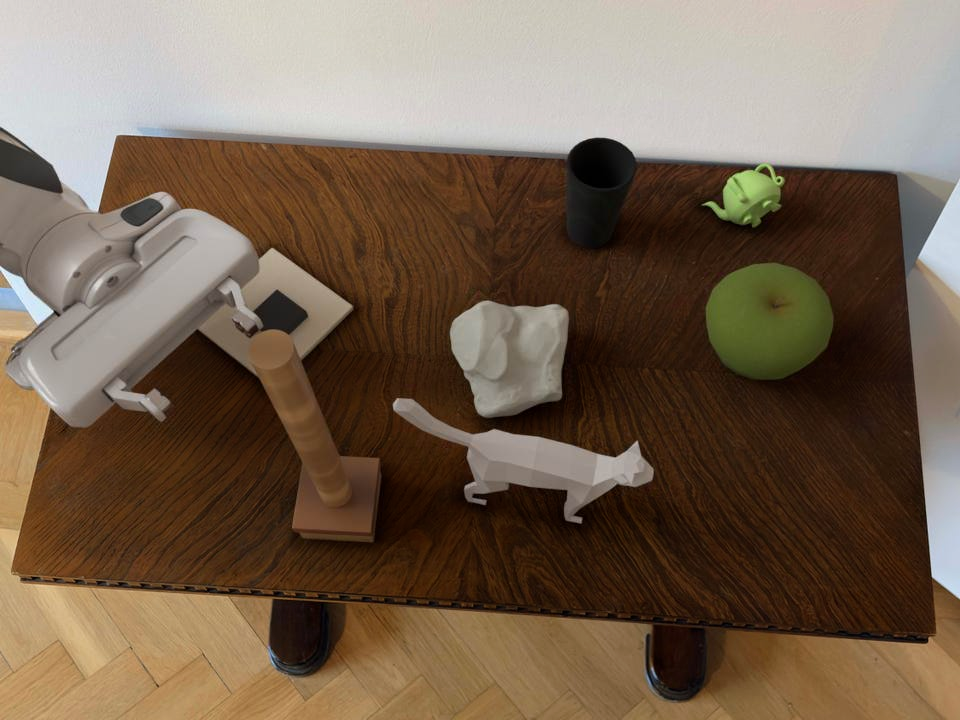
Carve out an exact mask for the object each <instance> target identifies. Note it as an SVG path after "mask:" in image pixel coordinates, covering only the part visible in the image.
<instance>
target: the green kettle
mask: <svg viewBox="0 0 960 720" xmlns="http://www.w3.org/2000/svg"><path fill="white" fill-rule="evenodd" d="M765 168H766V169H768V170H769V172H770V176H771V177H769V176H768V175H767V174H764V173H761V170H762V169H765ZM778 180H780V181H779V182H778ZM785 183H786V182H785V178H784V177H783V176H781V175H776V172H775V169H774V167H773V166H772V164H769V163H762V164H759V165H758V166H756V168H755V169H754V170H753V169H747V170H744V171H741V172H737V173H735V174H734V175H732V176H731V177H729V178H728V179H727V182H726V184H725V185H724V188H723V189H722V196H723V197H722V198H723V199H722V200H723V207H724V209H722V208H721V207H720V206H719V205H718V204H717V203H716V202H715V201H707V202H705V203H703V204H701V207H709V208H710V209H712V210H713V212H714V213H715V215H716V216H717V217H718V218H720V219H721V220H723V221H727V222H729V221H731V222H732V223H734V224H737V225H740V226H746V225H748V224H751V227H752V228H756V227H757V226H759V225H760V224H761V223H762V221H761V218H763V217H764V216H765V215H766V214H768V213H769V212H770V211H771V212H772V213H774V212H776V211H778V210H780V209H781V208H782V206H783V205H782V204H780V203H779V202H780V200H781V191H782V190H781V187H782V186H783V185H784V184H785Z"/></svg>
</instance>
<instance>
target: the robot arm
mask: <svg viewBox="0 0 960 720" xmlns="http://www.w3.org/2000/svg"><path fill="white" fill-rule="evenodd" d="M259 259H260V258H259V255H258V252H257V250H256V249H255V246H254V244H253V243H252V241H251V240H250V239H249V238H248V237H247V236H245V234H243V233H242V232H240V231H239V230H237V229H236V228H234V227H233V226H231V225H230V224H228V223H227V222H224V221H223V220H221V219H220V218H218V217H216V216H214V215H213V214H210V213H208V212H206V211H204V210H200V209H197V208H183V209H182V207H181V206H180V205H179V203H178V202H177V201H176V199H175V198H174V196H172V195H171V194H169V193H168V192H165V191H158V192H155V193H152V194H150V195H148V196H146V197H144V198H141V199H139V200H137V201H135V202H133V203H130V204H128V205H125V206H123V207H121V208H120V207H119V208H117V209H115V210H112V211H108V212H106V213H101V212H99V211H96V210H93V209H90V208H89V206H88V204H87V203H86V201H85V200H84V199H83V197H81V195H79V194H78V193H77V192H76V191H75V190H73V189H72V188H71V187H69V186H68V185H67V184H66V183H64V182H62V180H60V177H59V175H58V173H57V172H56V169H55V168H54V165H53V164H52V163H50V162H49V161H47V159H45V158H44V157H42V156H41V155H40V154H39V153H37V152H36V151H35V150H33V149H32V148H31V147H30V146H29V145H27V144H26V143H25V142H23V141H22V140H21V139H19V138H18V137H17V136H15V135H14V134H12V133H11V132H10V131H8V130H7V129H5V128H3V127H1V126H0V267H1V268H2V269H3V270H5V271H6V272H8V273H9V274H11V275H14V276H16V277H18V278H21V279H22V280H23V282H24V284H25V286H26V287H27V289H28V290H29V291H30V292H31V293H32V295H33V296H35V297H36V298H37V299H38V300H40V301H41V302H42V303H43V304H44V305H46V307H48V308H49V309H50V310H51V311H52V313H51V314H49V315H48V316H47V317H46V318H44V319H43V320H42V321H41V322H40V323H38V325H36V327H35V328H34V329H33V330H32V331H31V332H30V333H28V335H26V336H25V337H24V338H21V339H20V340H18V341H17V342H16V343H15V344H14V345H13V346H12V347H11V348H10V352H11V354H10V355H9V356H8V359H7V360H6V363H5V368H4V369H5V373H6V375H7V376H8V378H9V379H10V380H12V382H14V383H15V384H16V385H17V386H18V387H20V388H21V389H22V390H27V391H35V392H36V393H37V394H38V396H39V397H40V398H41V399H42V401H44V402H45V404H46V405H47V406H48V407H49V408H50V409H51V410H52V411H53V412H54V413H55V414H56V415H58V416H59V418H60V419H62V420H63V421H64V422H65V423H66V424H67V425H69V427H71V428H89V427H91V426H92V425H93V424H94V423H95V422H96V421H98V420H99V419H100V418H101V417H102V416H103V415H104V414H106V412H107V411H109V410H110V409H111V408H112V407H113V406H114V405H115V404H117V405H118V406H119V407H120V408H122V409H123V410H128V411H137V412H145V413H147V412H149V413H150V414H151V415H152V416H153V417H154V418H156V419H157V420H158V421H159V422H160V423H162V422H164V421H165V420H166V419H167V418H168V417H169V416H170V415H171V414H172V413H173V412H174V411H175V410H176V409H177V408H176V407H175V406H174V405H173V403H172V402H171V401H170V399H168V398H167V397H166V396H164V395H163V394H162V393H161V392H160V391H159V390H158V389H157V388H155V387H154V388H153V389H151V390H150V391H149V392H148V393H147V394H144V393H139V392H138V393H137V392H134V391H132V389H133V388H134V387H135V386H136V385H137V384H139V382H141V381H142V380H143V379H144V378H145V377H146V376H147V375H148V374H149V373H151V371H153V370H154V369H155V368H156V367H157V366H158V365H160V363H162V361H164V360H165V359H166V358H167V357H168V356H169V355H171V353H173V351H175V350H176V349H177V348H178V347H179V346H180V345H181V344H182V343H183V342H185V340H187V339H189V337H190V336H191V335H193V334H194V332H196V331H197V330H198V328H199V327H200V326H201V325H202V324H203V323H204V322H205V321H207V320H208V319H209V318H210V317H211V316H212V315H213V314H214V313H215V312H216V311H218V310H219V309H220V308H221V307H222V306H223V305H224V304H225V303H226V304H227V305H229V306H230V307H231V308H234V307H235V306H237V309H238V311H237V312H236V313H235V314H234V315H233V316H232V317H231V318H232V320H233V322H234V323H235V326H236V328H237V329H238V330H239V331H240V332H242V333H245V335H246V336H247V337H248V338H250V339H251V338H252V337H253V336H254V335H255V334H256V333H257V332H258V331H259V330H260V329H261V328H262V327H263V324H262V322H261V320H260V318H259V317H258V316H257V315H256V314H254V313H253V312H252V311H251V310H249V309H248V306H247V303H246V299H245V297H244V295H243V292H242V290H241V289H242V288H243V287H244V286H245V285H246V284H247V283H248V282H250V281H251V280H252V279H253V278H254V277H255V276H256V275H257V274H258V273H259V271H260V266H259Z"/></svg>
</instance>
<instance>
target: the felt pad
mask: <svg viewBox="0 0 960 720" xmlns="http://www.w3.org/2000/svg"><path fill="white" fill-rule="evenodd" d="M253 313H254V314H256V315H257V316H258V317H259V318H260V320H261V322H262V324H263V327H262V328H261V329H260V331H262V332H264V331H267V330H280V331H283V332H285V333H287V334H288V335H290V334H291V333H292V332H293V331H294V330H295V329H296V328H297V327H298V326H299V325H300V324H301V323H302V322H303V321H304V320H305V319H306V318H307V317H308V314H307V311H306V310H304V309H303V308H302V307H300V306H299V305H298V304H296V303H295V302H294V301H292V300H291V299H290V298H288V297H287V296H286V295H284V294H283V293H282V292H280V291H279V290H276V291H274V292H273V293H272V294H271V295H270V296H269V297H268V298H267V299H266V300H265V301H264V302H263V303H261V304H260V305H259V306H258V307H257V308H256V309H255V310H254V311H253Z"/></svg>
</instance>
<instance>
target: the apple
mask: <svg viewBox="0 0 960 720" xmlns="http://www.w3.org/2000/svg"><path fill="white" fill-rule="evenodd" d="M705 323H706V329H707V335H708V339H709V343H710V344H711V346H712V347H713V350H714V351H715V353H716V354H717V356H718V358H719V360H720V361H721V363H722V364H723V366H724V367H726V368H728V370H731V371H732V372H733V373H735V374H736V375H738V376H742V377H745V378H747V379H751V380H758V381H759V380H761V381H762V380H763V381H764V380H765V381H766V380H768V381H769V380H782V379H784V378H786V377H788V376H790V375H792V374H795V373H797V372H798V371H800V370H802V369H803V368H805V367H807V365H809V364H811V363H812V362H813V361H815V360H816V358H818V356H820V355H821V353H823V351H825V350H826V348H827V347H828V344H829V341H830V338H831V335H832V332H833V330H834V329H833V328H834V312H833V309H832V305H831V301H830V298H829V296H828V294H826V292H825V290H824V289H823V288H822V287H821V285H820V284H819V283H818V281H817V280H816V279H815V278H813V277H811V275H808V274H806V273H804V272H803V271H802V270H799V269H798V268H796V267H793V266H789V265H784V264H781V263H778V262H766V263H753V264H751V265H748V266H745V267H741V268H740V269H736V270H735V271H733V272H731V273H729V274H727V275H726V276H724V277H723V278H722V280H720V281H719V282H718V284H716V285H715V286H714V287H713V288H712V289H711V293H710V295H709V298H708V301H707V303H706V306H705Z"/></svg>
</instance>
